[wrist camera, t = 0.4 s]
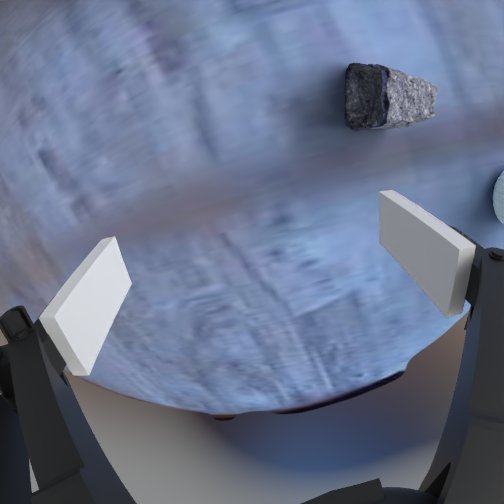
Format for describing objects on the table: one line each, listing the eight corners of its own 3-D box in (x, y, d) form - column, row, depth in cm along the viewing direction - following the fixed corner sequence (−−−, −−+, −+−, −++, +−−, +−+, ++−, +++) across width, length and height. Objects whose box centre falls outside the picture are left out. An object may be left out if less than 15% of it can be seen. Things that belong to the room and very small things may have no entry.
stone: (325, 118, 39) (335, 50, 33) (382, 122, 42) (395, 62, 35) (372, 157, 31) (390, 70, 24) (433, 160, 33) (453, 87, 26)
